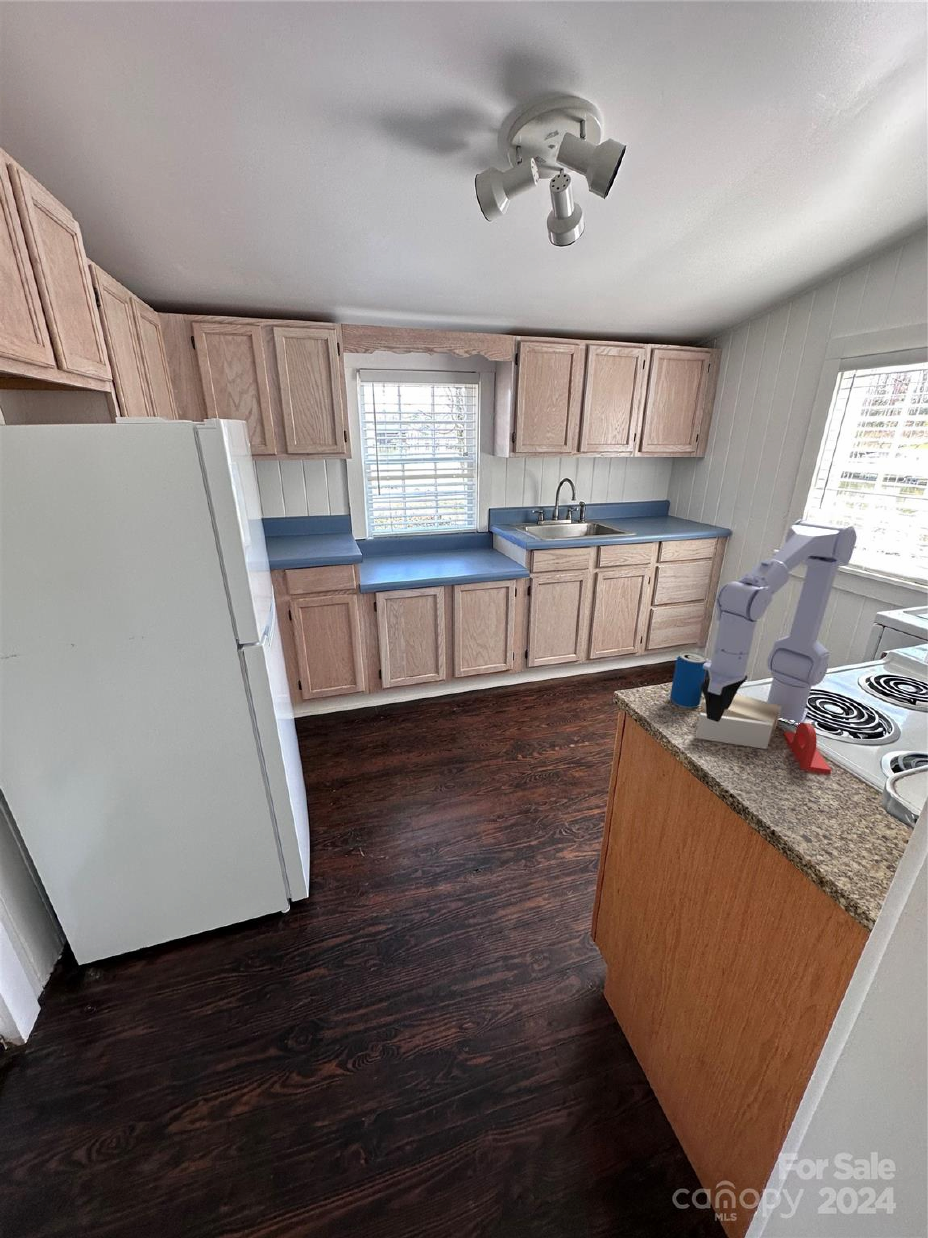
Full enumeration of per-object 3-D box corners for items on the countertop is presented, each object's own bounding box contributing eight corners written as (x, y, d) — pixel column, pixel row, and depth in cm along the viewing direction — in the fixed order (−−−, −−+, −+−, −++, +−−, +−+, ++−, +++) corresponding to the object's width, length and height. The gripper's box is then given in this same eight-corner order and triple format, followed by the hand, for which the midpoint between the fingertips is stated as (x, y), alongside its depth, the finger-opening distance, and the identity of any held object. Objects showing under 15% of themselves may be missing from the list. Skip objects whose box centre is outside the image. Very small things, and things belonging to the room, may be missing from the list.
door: (695, 735, 102) (700, 712, 100) (765, 746, 99) (771, 722, 97) (696, 738, 101) (701, 715, 99) (766, 749, 98) (772, 725, 96)
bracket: (829, 775, 91) (841, 738, 89) (802, 770, 92) (812, 734, 90) (806, 739, 102) (816, 706, 99) (782, 735, 103) (791, 702, 101)
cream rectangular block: (710, 707, 114) (715, 686, 112) (775, 729, 105) (781, 706, 103) (698, 723, 107) (702, 701, 105) (766, 747, 99) (772, 724, 97)
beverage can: (678, 693, 120) (686, 648, 116) (704, 704, 115) (713, 657, 111) (664, 701, 116) (672, 655, 112) (690, 713, 111) (700, 665, 107)
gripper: (719, 631, 96) (707, 692, 101) (695, 654, 86) (683, 721, 91) (760, 641, 92) (745, 704, 97) (739, 666, 82) (724, 735, 86)
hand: (717, 713), depth 93 cm, fingers open, 5 cm apart
